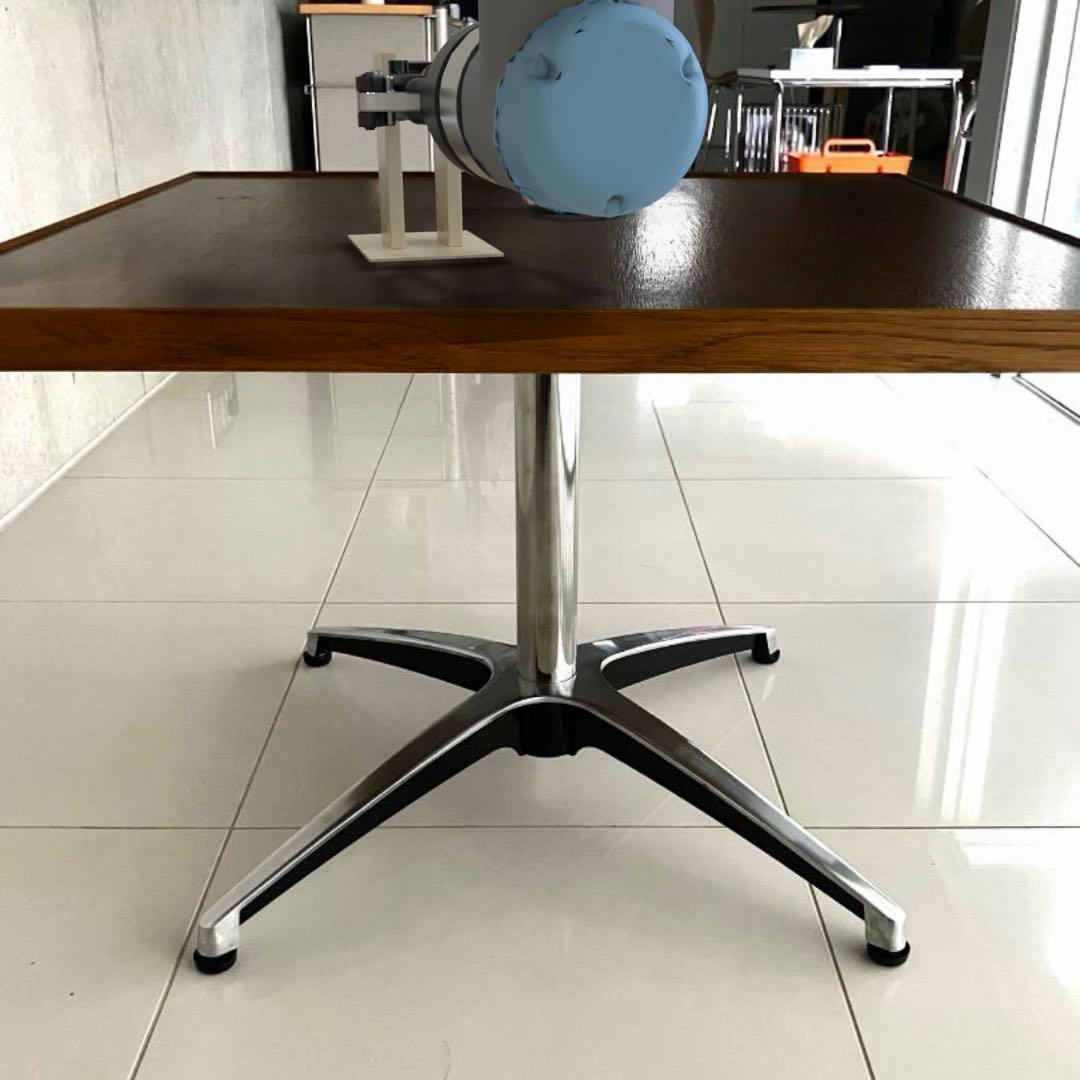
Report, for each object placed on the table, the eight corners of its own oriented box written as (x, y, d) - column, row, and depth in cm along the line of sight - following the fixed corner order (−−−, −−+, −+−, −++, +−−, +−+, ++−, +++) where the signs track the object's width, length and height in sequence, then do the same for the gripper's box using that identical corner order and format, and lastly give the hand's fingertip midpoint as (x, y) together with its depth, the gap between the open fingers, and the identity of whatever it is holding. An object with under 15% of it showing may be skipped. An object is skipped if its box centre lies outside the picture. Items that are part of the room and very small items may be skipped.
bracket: (504, 272, 82) (500, 51, 77) (370, 278, 80) (357, 51, 75) (467, 247, 93) (462, 52, 88) (348, 252, 91) (336, 52, 85)
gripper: (346, 192, 56) (303, 157, 78) (676, 181, 60) (550, 151, 81) (335, 16, 54) (293, 29, 75) (682, 16, 58) (549, 29, 79)
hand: (427, 92), depth 78 cm, fingers closed on lever, 3 cm apart
